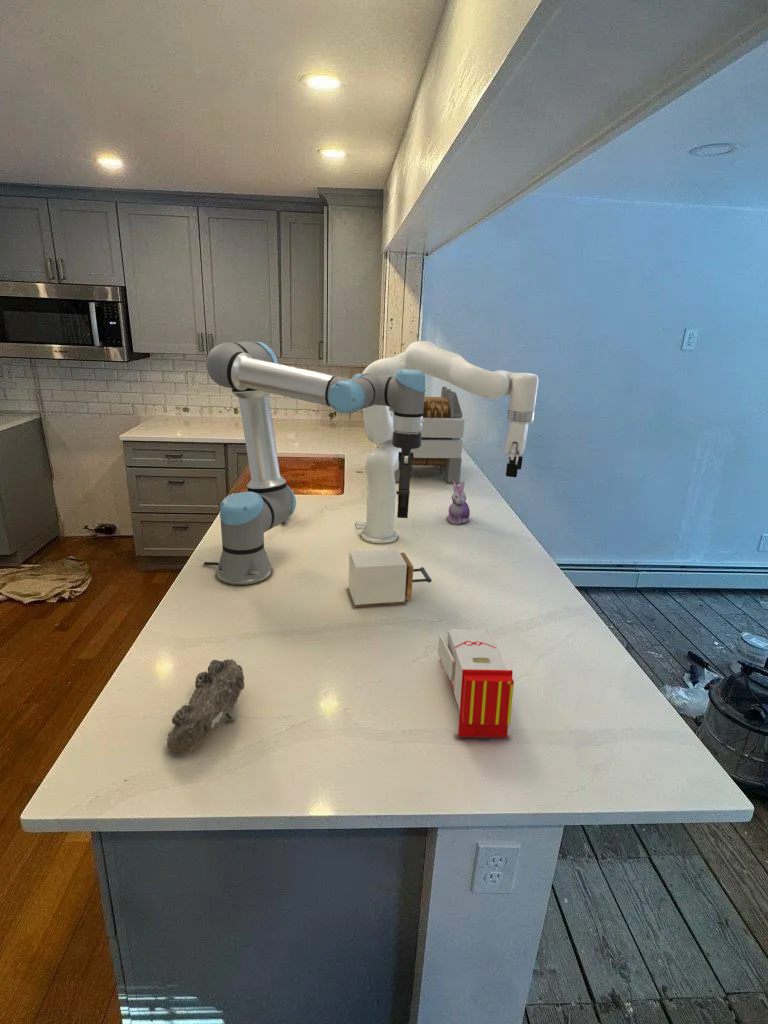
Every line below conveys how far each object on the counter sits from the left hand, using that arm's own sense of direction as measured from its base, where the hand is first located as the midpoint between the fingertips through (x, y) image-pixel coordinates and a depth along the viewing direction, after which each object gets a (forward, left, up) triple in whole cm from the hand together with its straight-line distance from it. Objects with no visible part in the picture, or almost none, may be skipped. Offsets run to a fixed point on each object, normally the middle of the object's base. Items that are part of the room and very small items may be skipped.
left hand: (402, 508), depth 154 cm
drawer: (0, -5, -23) cm, 23 cm away
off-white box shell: (-4, -8, -24) cm, 25 cm away
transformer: (-20, +119, -24) cm, 123 cm away
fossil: (-20, -64, -24) cm, 71 cm away
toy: (+26, -41, -24) cm, 54 cm away
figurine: (+8, +61, -24) cm, 66 cm away
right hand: (+27, +30, +6) cm, 41 cm away
